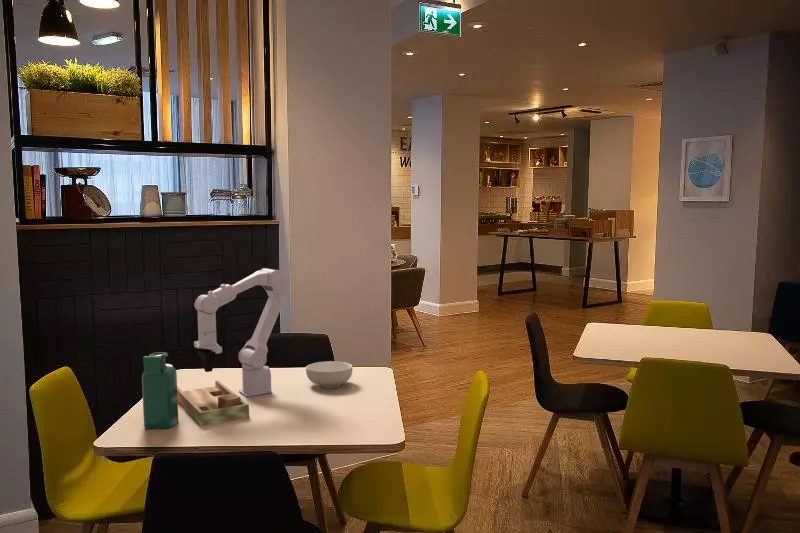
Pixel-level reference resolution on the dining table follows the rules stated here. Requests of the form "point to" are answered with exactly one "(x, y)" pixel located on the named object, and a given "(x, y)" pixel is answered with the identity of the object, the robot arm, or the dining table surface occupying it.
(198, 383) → the dining table surface
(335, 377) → the cereal bowl
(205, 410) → the trap box
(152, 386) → the green bottle
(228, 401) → the block
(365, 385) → the dining table surface
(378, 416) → the dining table surface
